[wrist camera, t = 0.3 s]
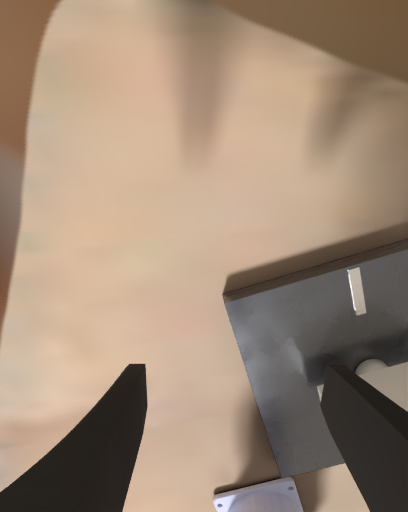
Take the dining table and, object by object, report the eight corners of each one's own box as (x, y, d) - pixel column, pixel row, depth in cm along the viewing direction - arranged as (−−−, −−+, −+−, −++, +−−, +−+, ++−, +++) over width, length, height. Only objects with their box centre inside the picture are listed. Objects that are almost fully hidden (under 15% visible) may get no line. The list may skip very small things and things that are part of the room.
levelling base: (473, 412, 24) (508, 443, 21) (276, 461, 25) (286, 496, 23) (468, 221, 19) (514, 229, 16) (222, 294, 20) (226, 313, 18)
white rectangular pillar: (431, 371, 21) (512, 440, 15) (316, 402, 21) (355, 478, 16) (429, 339, 20) (513, 401, 15) (309, 372, 21) (348, 442, 15)
